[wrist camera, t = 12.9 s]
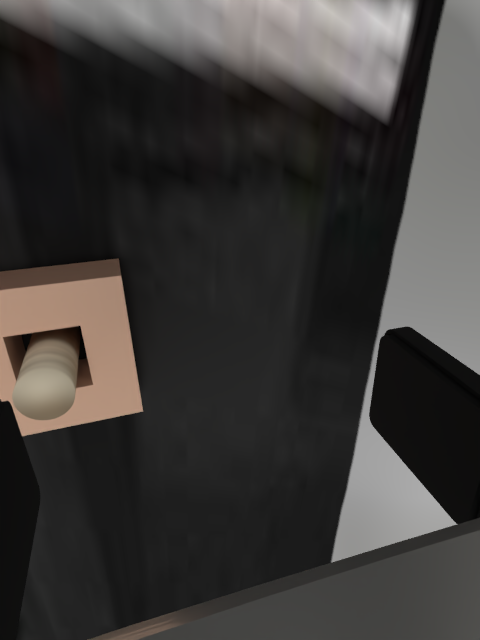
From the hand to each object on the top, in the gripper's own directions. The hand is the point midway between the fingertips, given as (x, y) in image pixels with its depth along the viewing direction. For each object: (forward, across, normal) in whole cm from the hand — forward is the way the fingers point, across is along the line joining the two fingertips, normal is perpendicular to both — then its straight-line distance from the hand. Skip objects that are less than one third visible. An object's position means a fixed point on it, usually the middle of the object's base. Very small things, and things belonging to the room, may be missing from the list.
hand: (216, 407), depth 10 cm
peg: (+28, +9, +11) cm, 32 cm away
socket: (+28, +9, +11) cm, 32 cm away
